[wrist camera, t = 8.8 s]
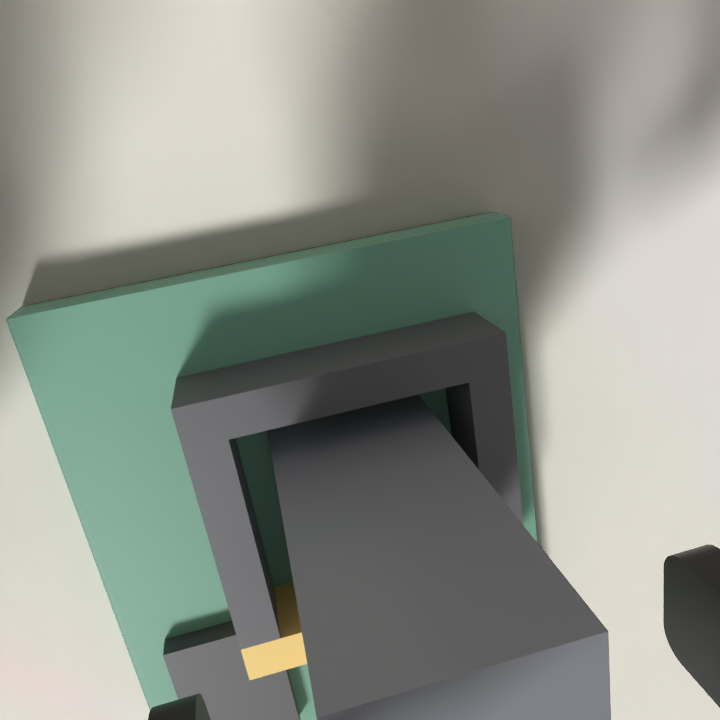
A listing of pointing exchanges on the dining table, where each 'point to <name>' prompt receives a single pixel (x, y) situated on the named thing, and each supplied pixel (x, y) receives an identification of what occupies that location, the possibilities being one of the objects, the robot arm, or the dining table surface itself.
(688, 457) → the dining table surface
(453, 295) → the board
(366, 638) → the plug
